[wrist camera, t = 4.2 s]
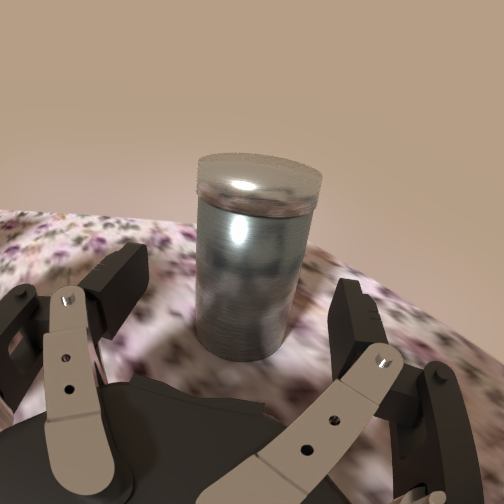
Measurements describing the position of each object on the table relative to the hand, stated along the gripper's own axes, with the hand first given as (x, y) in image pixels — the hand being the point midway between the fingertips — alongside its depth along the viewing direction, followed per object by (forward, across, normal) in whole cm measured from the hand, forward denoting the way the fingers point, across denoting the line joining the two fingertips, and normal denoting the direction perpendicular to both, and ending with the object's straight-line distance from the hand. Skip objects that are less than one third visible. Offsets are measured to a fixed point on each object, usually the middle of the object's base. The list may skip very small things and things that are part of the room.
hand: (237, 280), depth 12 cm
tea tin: (+4, 0, +6) cm, 7 cm away
